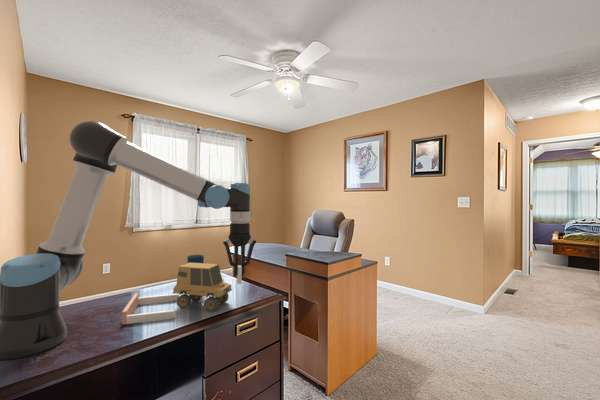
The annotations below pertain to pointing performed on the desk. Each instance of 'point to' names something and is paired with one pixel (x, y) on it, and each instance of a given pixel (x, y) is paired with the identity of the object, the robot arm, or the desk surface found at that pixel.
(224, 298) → the toy car
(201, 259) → the cup
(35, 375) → the desk surface
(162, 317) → the bay
